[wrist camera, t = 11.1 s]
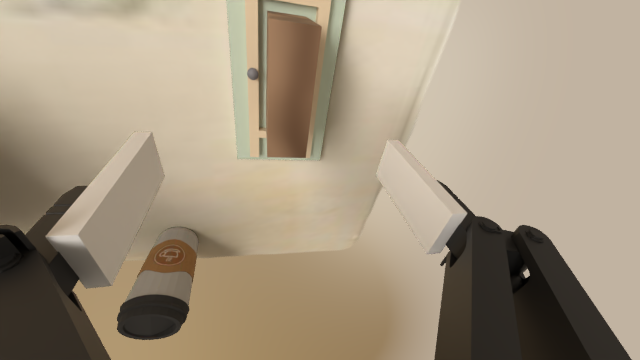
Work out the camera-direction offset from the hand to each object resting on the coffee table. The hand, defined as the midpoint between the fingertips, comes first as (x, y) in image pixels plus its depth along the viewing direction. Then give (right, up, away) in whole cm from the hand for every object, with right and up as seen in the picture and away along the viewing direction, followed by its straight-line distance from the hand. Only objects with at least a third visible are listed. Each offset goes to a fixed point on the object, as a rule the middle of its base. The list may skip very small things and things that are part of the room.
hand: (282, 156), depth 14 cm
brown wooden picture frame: (-2, +11, +15) cm, 18 cm away
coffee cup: (-23, -12, +30) cm, 39 cm away
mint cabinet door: (-2, +12, +16) cm, 20 cm away
